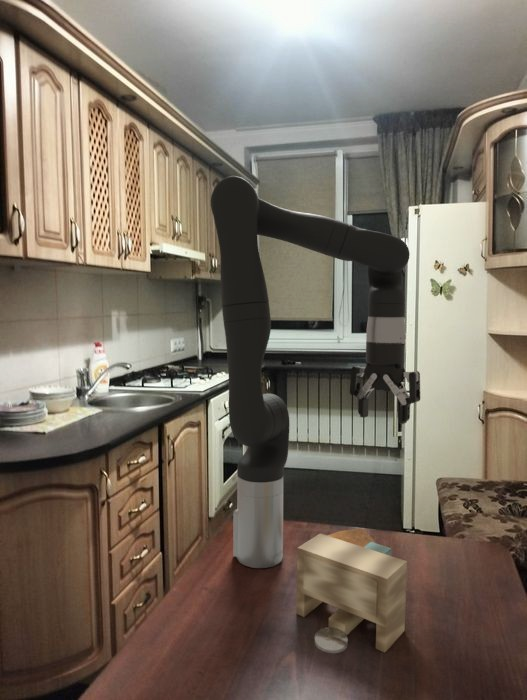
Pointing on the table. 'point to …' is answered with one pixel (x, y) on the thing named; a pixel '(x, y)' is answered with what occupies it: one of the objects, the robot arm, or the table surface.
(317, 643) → the disc
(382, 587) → the wooden arch block
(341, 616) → the two-colour block
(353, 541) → the pottery shard
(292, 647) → the table surface
